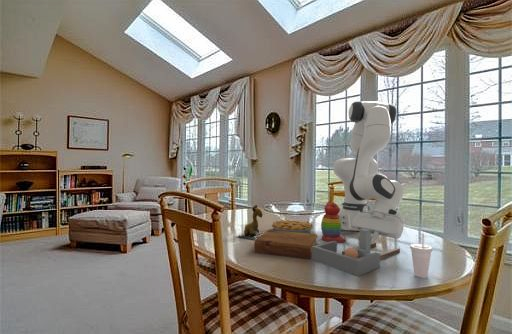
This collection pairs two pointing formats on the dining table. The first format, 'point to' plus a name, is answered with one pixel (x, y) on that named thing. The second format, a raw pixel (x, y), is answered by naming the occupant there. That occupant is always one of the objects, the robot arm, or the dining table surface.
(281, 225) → the pie
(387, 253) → the lane
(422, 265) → the smoothie
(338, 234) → the stacking bear
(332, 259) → the grey walled tray
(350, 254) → the ball
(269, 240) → the diary
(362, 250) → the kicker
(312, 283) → the dining table surface
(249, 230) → the stuffed giraffe
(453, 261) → the dining table surface
